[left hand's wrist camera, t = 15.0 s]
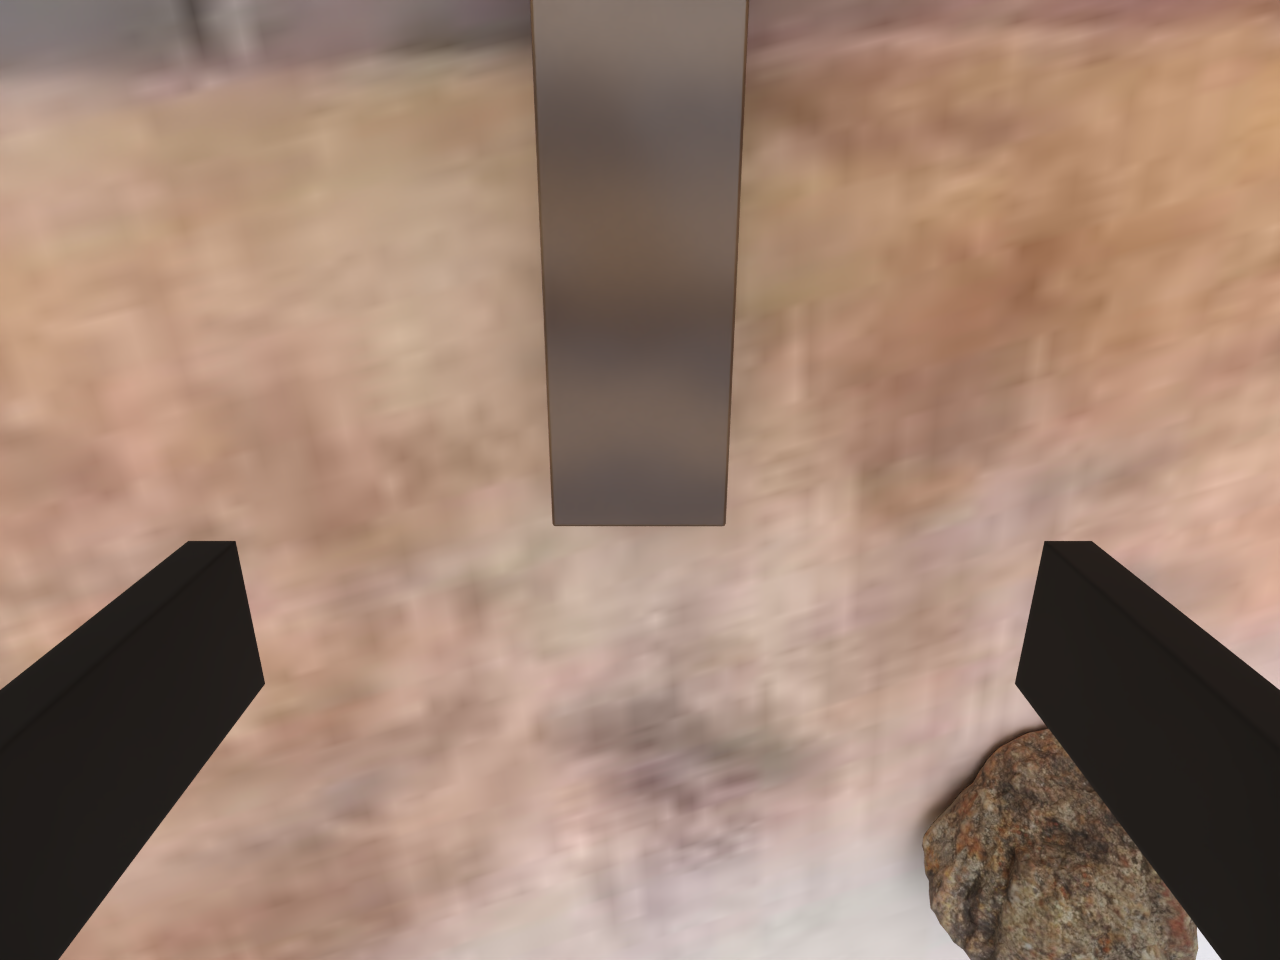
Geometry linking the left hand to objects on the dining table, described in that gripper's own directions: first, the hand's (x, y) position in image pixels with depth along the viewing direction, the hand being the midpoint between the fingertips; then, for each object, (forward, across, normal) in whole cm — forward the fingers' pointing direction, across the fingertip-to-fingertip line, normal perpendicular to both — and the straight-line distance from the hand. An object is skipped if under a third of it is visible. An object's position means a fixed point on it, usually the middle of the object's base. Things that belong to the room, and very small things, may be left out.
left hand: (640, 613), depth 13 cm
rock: (+20, -21, +22) cm, 36 cm away
